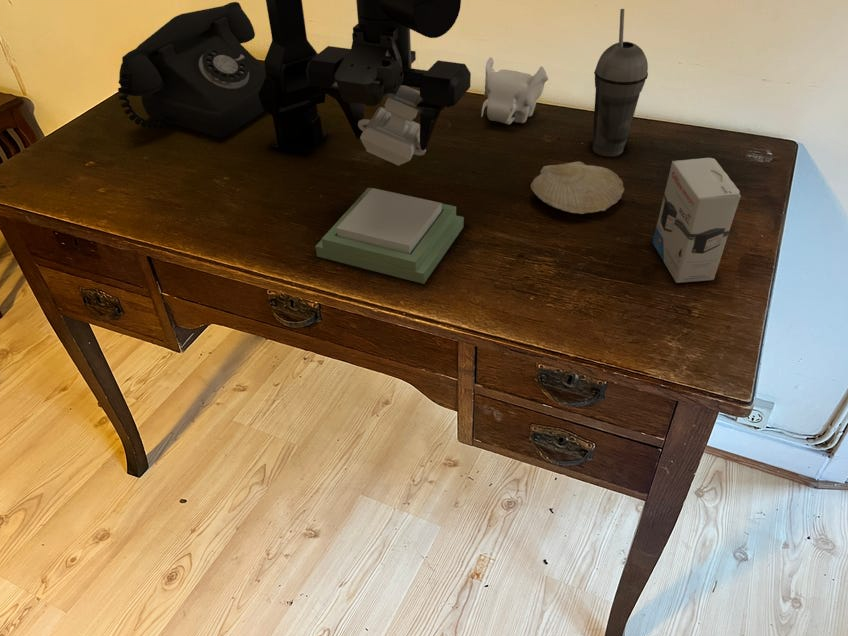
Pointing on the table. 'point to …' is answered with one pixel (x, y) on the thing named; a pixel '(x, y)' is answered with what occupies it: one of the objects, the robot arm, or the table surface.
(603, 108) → the beverage cup
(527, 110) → the elephant figurine
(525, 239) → the table surface
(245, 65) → the rotary telephone
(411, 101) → the grey blocky piece
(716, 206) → the ink box
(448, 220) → the scale
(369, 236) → the square push button
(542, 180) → the seashell
